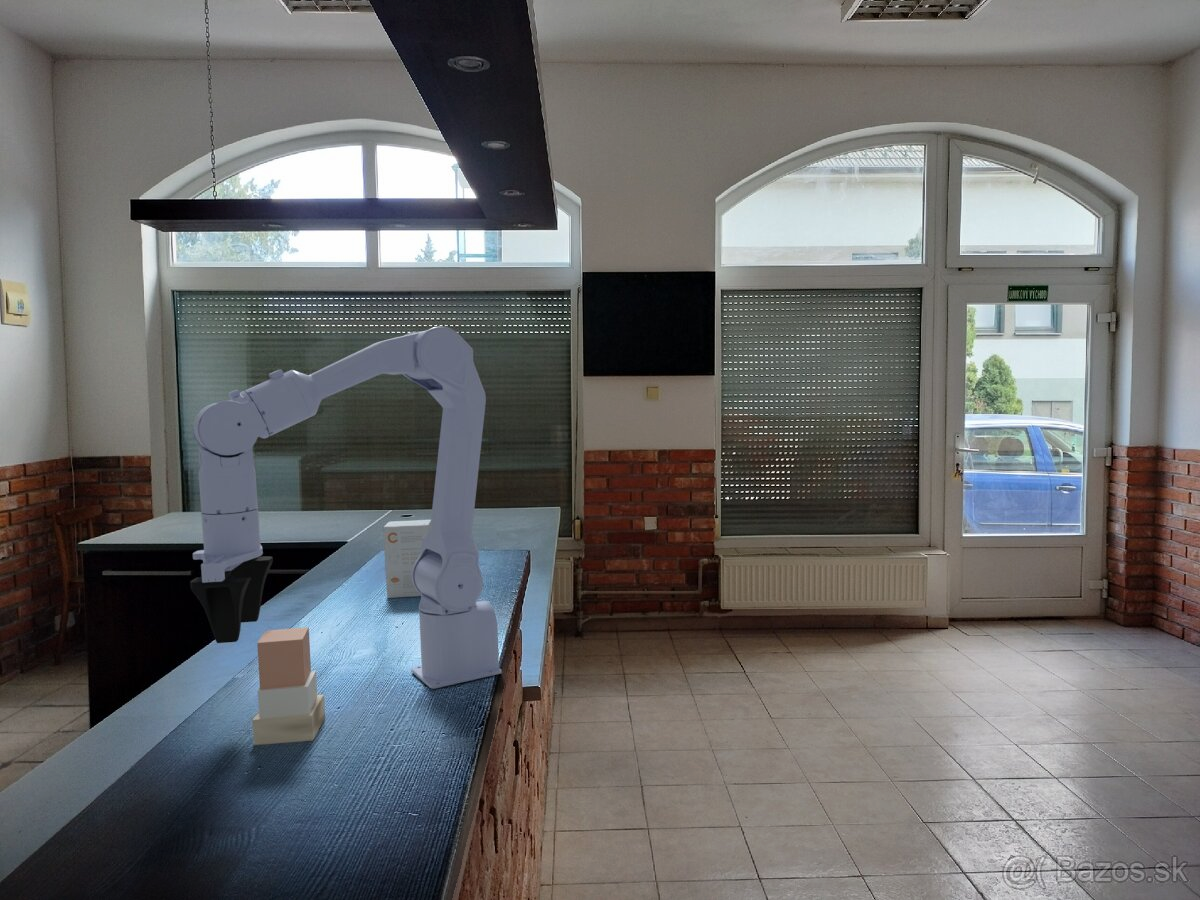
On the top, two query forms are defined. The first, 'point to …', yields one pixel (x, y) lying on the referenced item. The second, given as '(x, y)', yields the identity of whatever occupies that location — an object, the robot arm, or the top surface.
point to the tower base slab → (289, 726)
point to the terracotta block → (284, 658)
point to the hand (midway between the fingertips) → (238, 631)
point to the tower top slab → (288, 699)
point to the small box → (403, 555)
